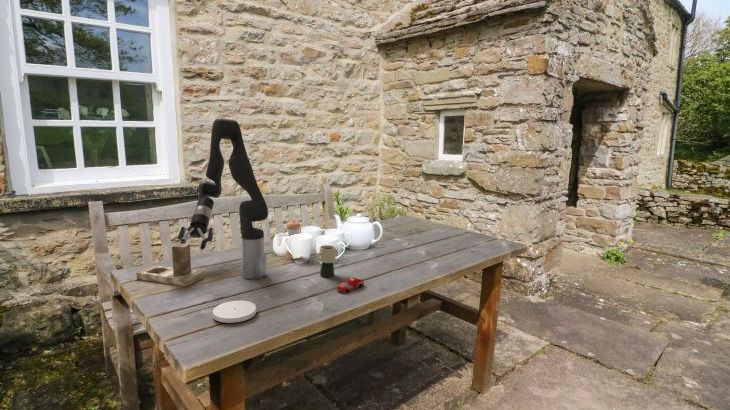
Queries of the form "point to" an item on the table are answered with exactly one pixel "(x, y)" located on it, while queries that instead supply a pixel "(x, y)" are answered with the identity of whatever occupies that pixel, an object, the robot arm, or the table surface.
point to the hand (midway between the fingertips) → (191, 248)
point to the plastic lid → (234, 311)
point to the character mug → (327, 259)
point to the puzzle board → (168, 276)
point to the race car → (350, 285)
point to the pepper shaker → (292, 233)
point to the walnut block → (181, 259)
